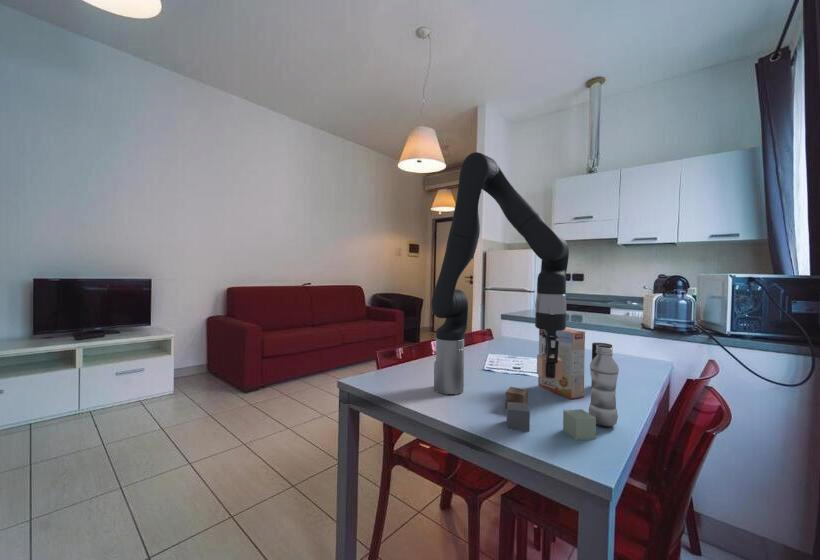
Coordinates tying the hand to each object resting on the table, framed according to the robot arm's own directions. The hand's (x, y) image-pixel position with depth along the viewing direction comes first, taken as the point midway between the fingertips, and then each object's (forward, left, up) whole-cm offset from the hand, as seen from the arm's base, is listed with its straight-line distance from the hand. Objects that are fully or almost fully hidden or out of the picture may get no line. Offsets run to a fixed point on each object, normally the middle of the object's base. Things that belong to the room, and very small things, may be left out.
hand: (548, 373), depth 87 cm
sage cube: (+6, -7, -12) cm, 15 cm away
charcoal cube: (-8, -7, -12) cm, 16 cm away
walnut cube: (-8, +5, -12) cm, 15 cm away
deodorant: (+20, +32, -12) cm, 40 cm away
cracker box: (+6, +24, -12) cm, 27 cm away
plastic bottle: (+13, +1, -12) cm, 18 cm away
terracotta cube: (0, 0, -1) cm, 1 cm away
